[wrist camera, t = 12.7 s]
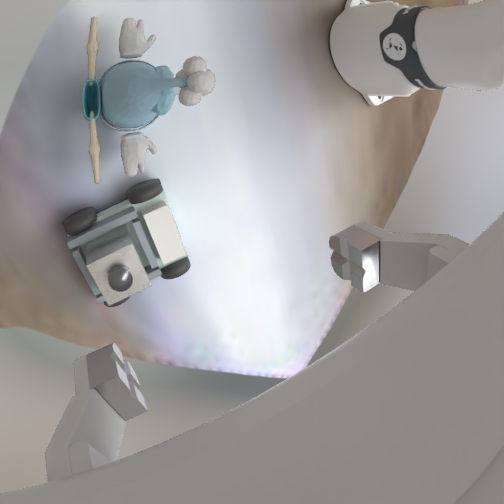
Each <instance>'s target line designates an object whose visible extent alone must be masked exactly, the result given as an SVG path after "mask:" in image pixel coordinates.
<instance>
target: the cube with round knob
mask: <svg viewBox="0 0 504 504" xmlns="http://www.w3.org/2000/svg"><path fill="white" fill-rule="evenodd" d="M86 266H87V268H88V270H89V271H90V273H91V275H92V277H93V279H94V281H95V283H96V284H97V286H98V288H99V290H100V291H101V293H102V295H103V297H104V298H105V300H106V302H107V304H108V305H109V306H110V305H112V304H114V303H116V302H118V301H120V300H122V299H124V298H127V297H129V296H131V295H133V294H135V293H137V292H139V291H141V290H143V289H146V288H148V287H150V286H152V285H151V282H150V280H149V277H148V275H147V272H146V270H145V267H144V265H143V262H142V260H141V258H140V255H139V253H138V251H137V249H136V246H135V244H134V242H133V240H132V237H131V235H130V233H129V230H128V228H127V226H126V225H124V226H122V227H119V228H117V229H115V230H113V231H111V232H109V233H107V234H104V235H102V236H100V237H98V238H96V239H94V240H92V241H90V242H88V243H87V249H86Z"/></svg>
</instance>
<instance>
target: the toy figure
mask: <svg viewBox="0 0 504 504" xmlns="http://www.w3.org/2000/svg"><path fill="white" fill-rule="evenodd" d="M155 39H156V38H155V35H151V36H150V37H149V39H148V40H146V39H145V36H144V30H143V21H142V20H139V21H138V23H137V27H136V23H135V20H134V19H133V18H127V19H125V20H124V21H123V24H122V28H121V33H120V38H119V51H120V57H121V58H126V59H127V58H137V57H141V56H142V55H141V54H143V53H144V52H145V51H147V49H148V48H149V47H150V46H151V45H152V44H153V43H154V41H155ZM97 48H98V43H97V18H96V17H93V18H91V25H90V35H89V41H88V44H87V54H88V65H89V80H87V81H86V82H85V83H84V86H83V90H82V108H83V114H84V117H85V118H86V119H87V120H88V121H90V147H89V153H90V155H91V160H92V166H93V174H94V181H95V184H98V183H99V182H100V172H99V152H100V146H99V143H98V140H97V130H96V119H98V117H99V115H100V116H101V118H102V120H103V121H104V122H105V123H106V124H107V125H108V126H110V125H109V124H108V123H107V122H106V121H105V120H104V118H105V119H106V120H107V121H108V122H109V123H111V124H112V125H114V126H117V127H120V128H137V127H140V126H143V125H145V124H147V123H149V122H150V121H151V122H150V123H149V124H147V125H146V126H148V125H150V124H151V123H153V122H154V120H155V119H156V118H157V117H158V115H164V114H166V113H167V112H168V111H169V110H170V108H171V106H172V103H173V101H174V95H179V100H180V102H181V103H182V104H183V105H186V106H193V105H195V104H197V103H199V102H200V100H201V96H203V95H206V94H208V93H210V92H211V91H212V90H213V88H214V85H215V76H214V74H213V72H212V71H211V70H209V69H206V61H204V60H203V59H202V58H201V57H191V58H189V59H187V60H186V61H185V62H184V65H183V69H182V70H181V71H179V72H178V73H177V74H176V77H175V78H173V74H172V72H171V71H170V70H169V68H168V67H167V66H159V67H156V68H155V67H154V66H152V65H150V64H149V63H146V62H143V61H139V60H128V61H122V62H120V63H117V64H115V65H113V66H111V67H110V68H109V69H108V70H107V71H109V70H110V69H111V68H112V67H114V66H116V65H118V66H116V67H114V68H112V69H111V70H110V71H109V72H108V73H107V74H106V75H105V73H106V72H107V71H106V72H105V73H104V74H103V76H102V78H103V77H104V75H105V77H104V78H103V80H102V78H101V79H100V82H98V81H97V80H96V79H95V62H96V55H97V53H98V49H97ZM122 63H123V64H122ZM119 64H120V65H119ZM101 80H102V82H101ZM100 83H101V86H100ZM180 88H181V90H180ZM100 110H101V112H102V114H103V116H104V118H103V117H102V115H101V112H100ZM146 126H144V127H146ZM110 127H112V128H114V129H116V130H120V131H135V130H139V129H142V128H144V127H141V128H139V129H134V130H121V129H118V128H115V127H113V126H110ZM147 149H149V150H150V151H151V152H152V154H155V153H156V152H157V151H156V147H155V145H154V144H153V143H152V142H151V141H150V140H149V139H148V138H147V137H146V136H144V135H142V133H140V132H136V133H128V134H125V135H123V136H122V140H121V157H122V161H123V165H124V170H125V174H126V175H127V176H128V177H133V176H135V175H136V174H137V171H138V166H139V170H140V172H141V173H144V171H145V155H146V151H147Z"/></svg>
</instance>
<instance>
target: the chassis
mask: <svg viewBox="0 0 504 504" xmlns="http://www.w3.org/2000/svg"><path fill="white" fill-rule="evenodd" d="M126 194H127V197H128V200H125V201H123V202H121V203H119V204H117V205H114V206H112V207H110V208H108V209H106V210H103V211H101V212H99V213H97V214H96V212H95V210H94V208H93V207H88V208H85V209H82V210H80V211H78V212H76V213H74V214H72V215H71V216H69V217H68V218H67V219H66V220H65V221H64V222H63V227H64V229H65V231H66V234H67V236H68V238H67V245H68V247H69V249H72V255H73V257H74V259H75V261H76V263H77V264H78V266H79V268H80V270H81V272H82V274H83V276H84V277H85V279H86V281H87V283H88V285H89V286H90V288H91V290H92V292H93V293H94V295H95V296H96V298H97V300H98V302H99V304H101V303H103V302H104V304H105V305H106V306H107V307H114V306H118V305H120V304H122V303H123V302H125V301H126V300H127V299H128V298H129V297H130V296H129V297H127V298H124V299H122V300H120V301H118V302H116V303H114V304H112V305H110V306H109V305H108V304H107V302H106V300H105V298H104V297H103V295H102V293H101V291H100V290H99V288H98V286H97V284H96V283H95V281H94V279H93V277H92V275H91V273H90V271H89V270H88V268H87V266H86V249H87V243H88V242H90V241H92V240H94V239H96V238H98V237H100V236H102V235H104V234H107V233H109V232H111V231H113V230H115V229H117V228H119V227H122V226H124V225H126V226H127V228H128V230H129V233H130V235H131V237H132V240H133V242H134V244H135V246H136V249H137V251H138V253H139V255H140V258H141V260H142V262H143V265H144V267H145V270H146V272H147V275H148V277H149V280H151V279H154V278H156V277H158V276H160V275H161V277H162V278H164V279H173V278H177V277H179V276H181V275H183V274H184V273H186V272H187V271H188V270H189V268H190V261H189V259H188V255H187V253H186V250H185V247H184V245H183V242H182V239H181V237H180V234H179V231H178V229H177V226H176V223H175V220H174V218H173V215H172V212H171V209H170V207H169V204H168V201H167V198H166V195H165V192H164V190H163V188H162V185H161V182H160V180H159V179H151V180H147V181H144V182H141V183H139V184H137V185H135V186H133V187H132V188H130V189H129V190H128V191H127V192H126Z"/></svg>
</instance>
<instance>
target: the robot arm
mask: <svg viewBox="0 0 504 504" xmlns="http://www.w3.org/2000/svg"><path fill="white" fill-rule="evenodd" d="M330 48H331V54H332V57H333V60H334V63H335V66H336V68H337V70H338V71H339V73H340V75H341V76H342V77H343V79H344V80H345V81H346V82H347V83H348V84H349V85H350V86H351V87H353V88H354V89H356V90H357V91H359V92H360V93H361V94H362V95H363V97H364V98H365V100H366V101H367V102H368V104H369V105H371V106H377V105H379V104H381V103H383V102H385V101H387V100H389V99H391V98H393V97H395V96H399V97H408V96H410V95H411V94H412V93H414V92H416V91H417V90H419V89H420V88H426V89H431V90H435V89H445V88H446V87H452V88H460V89H468V90H475V91H482V92H489V91H492V90H495V89H497V88H499V87H500V86H501V85H502V84H503V83H504V0H483V1H480V2H478V3H474V4H469V5H461V6H453V7H443V8H431V7H428V6H411V7H408V6H404V5H399V4H398V3H396V2H392V1H382V2H375V3H371V2H369V1H366V0H347V2H346V5H345V9H344V11H343V12H342V13H341V14H340V15H339V16H338V17H337V18H336V20H335V21H334V23H333V25H332V29H331V33H330ZM329 247H330V248H331V249H332V250H333V253H332V256H331V263H332V267H333V269H334V271H335V273H336V274H337V275H338V276H339V277H341V278H342V279H344V280H350V281H351V285H352V286H354V287H355V288H357V289H358V290H360V291H361V292H363V293H364V292H366V291H368V290H369V289H371V288H372V287H374V286H375V285H377V284H379V283H380V284H384V285H389V286H393V287H398V288H403V289H407V290H413V291H415V292H413V293H412V294H411V295H410V296H408V297H407V298H406V299H404V300H403V301H402V302H400V303H399V304H398V305H397V306H395V307H394V308H393V309H391V310H390V311H389V312H387V313H386V314H385V315H383V316H382V317H380V318H379V319H378V320H376V321H375V322H373V323H372V324H371V325H369V326H368V327H366V328H365V329H364V330H362V331H361V332H359V333H358V334H357V335H355V336H354V337H352V338H351V339H349V340H348V341H346V342H345V343H343V344H342V345H340V346H339V347H337V348H336V349H334V350H333V351H331V352H330V353H328V354H327V355H325V356H323V357H322V358H320V359H319V360H317V361H316V362H314V363H312V364H311V365H309V366H308V367H306V368H304V369H303V370H301V371H299V372H298V373H296V374H295V375H293V376H291V377H290V378H288V379H286V380H285V381H283V382H281V383H279V384H278V385H276V386H274V387H272V388H271V389H269V390H267V391H265V392H264V393H262V394H260V395H258V396H256V397H255V398H253V399H251V400H249V401H247V402H246V403H243V404H242V405H240V406H238V407H236V408H234V409H232V410H230V411H228V412H226V413H224V414H222V415H220V416H218V417H216V418H214V419H212V420H210V421H208V422H206V423H204V424H202V425H200V426H198V427H196V428H194V429H191V430H189V431H187V432H185V433H183V434H180V435H178V436H176V437H174V438H171V439H169V440H167V441H164V442H162V443H160V444H158V445H155V446H153V447H150V448H148V449H145V450H143V451H140V452H138V453H135V454H133V455H130V456H128V457H125V458H122V459H120V460H117V459H118V454H119V450H120V445H121V441H122V437H123V433H124V429H125V425H126V422H125V421H127V420H129V419H131V418H133V417H136V416H138V415H140V414H142V413H144V412H146V411H148V410H147V408H146V404H145V401H144V398H143V395H142V394H141V393H140V391H139V387H140V385H139V381H138V379H137V376H136V374H135V372H134V370H133V369H132V367H131V365H130V364H129V362H128V361H127V360H124V359H123V358H122V354H121V351H120V350H119V348H118V347H117V345H116V344H114V343H112V344H110V345H107V346H105V347H103V348H101V349H98V350H96V351H94V352H92V353H89V354H88V355H84V356H83V357H80V358H78V359H76V360H75V361H74V378H75V379H74V380H75V394H76V396H74V397H72V398H71V400H70V402H69V404H68V406H67V408H66V410H65V412H64V414H63V416H62V418H61V420H60V422H59V424H58V426H57V428H56V430H55V433H54V434H53V437H52V439H51V441H50V443H49V445H48V447H47V449H46V452H45V459H46V471H47V480H48V482H47V483H44V484H40V485H35V486H31V487H27V488H23V489H19V490H14V491H9V492H4V493H0V504H504V212H503V213H502V214H501V215H500V216H499V217H498V218H497V219H496V220H495V221H494V222H493V223H492V224H491V225H490V226H489V227H488V228H487V229H486V230H485V231H484V232H483V233H482V234H480V235H479V236H478V237H477V238H476V239H475V240H474V241H473V242H472V243H471V244H468V243H466V242H464V241H462V240H460V239H458V238H455V237H453V236H451V235H449V234H429V233H409V232H393V233H390V232H388V231H386V230H384V229H381V228H379V227H377V226H375V225H373V224H370V223H368V222H366V221H358V222H357V223H355V224H353V225H351V226H350V227H348V228H347V229H345V230H343V231H341V232H339V233H337V234H335V235H333V236H331V237H330V240H329Z"/></svg>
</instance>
